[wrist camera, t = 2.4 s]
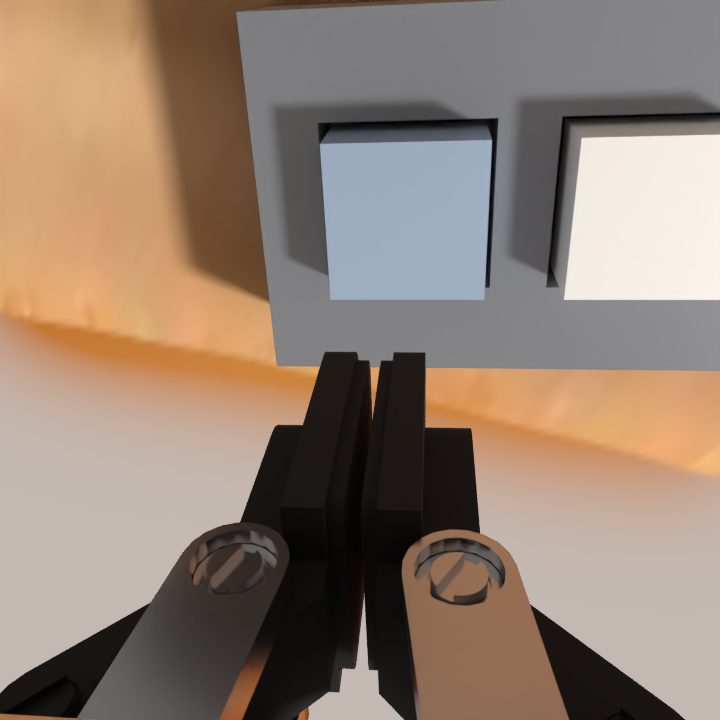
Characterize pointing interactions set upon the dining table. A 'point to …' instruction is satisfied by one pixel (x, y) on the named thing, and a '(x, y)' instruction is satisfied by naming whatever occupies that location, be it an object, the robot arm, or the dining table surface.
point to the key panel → (508, 165)
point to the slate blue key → (407, 210)
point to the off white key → (638, 209)
